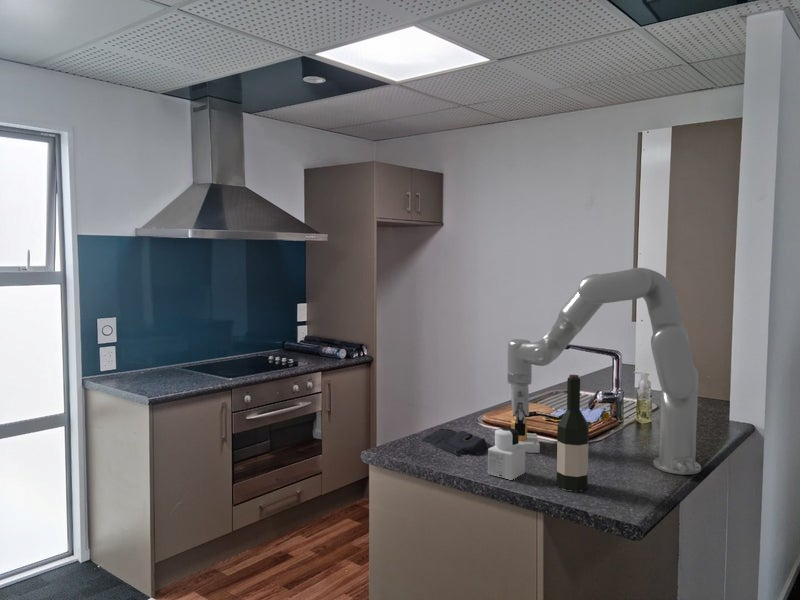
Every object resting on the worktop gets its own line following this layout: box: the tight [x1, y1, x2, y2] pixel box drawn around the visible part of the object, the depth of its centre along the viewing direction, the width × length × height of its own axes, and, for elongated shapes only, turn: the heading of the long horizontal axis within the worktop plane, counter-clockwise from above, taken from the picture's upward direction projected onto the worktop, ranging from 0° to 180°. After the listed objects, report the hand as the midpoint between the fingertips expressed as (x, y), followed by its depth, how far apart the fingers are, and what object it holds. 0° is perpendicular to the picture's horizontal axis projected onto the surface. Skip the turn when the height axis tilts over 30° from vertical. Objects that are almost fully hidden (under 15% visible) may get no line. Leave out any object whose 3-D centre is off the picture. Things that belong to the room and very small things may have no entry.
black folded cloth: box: [420, 428, 494, 457], centre depth 202 cm, size 15×22×5 cm
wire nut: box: [510, 416, 528, 441], centre depth 200 cm, size 5×5×7 cm
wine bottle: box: [556, 374, 590, 491], centre depth 165 cm, size 8×8×30 cm
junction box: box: [518, 432, 541, 454], centre depth 203 cm, size 18×12×6 cm, turn 173°
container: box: [487, 427, 526, 481], centre depth 175 cm, size 8×8×13 cm
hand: (519, 430), depth 200 cm, fingers open, 9 cm apart
